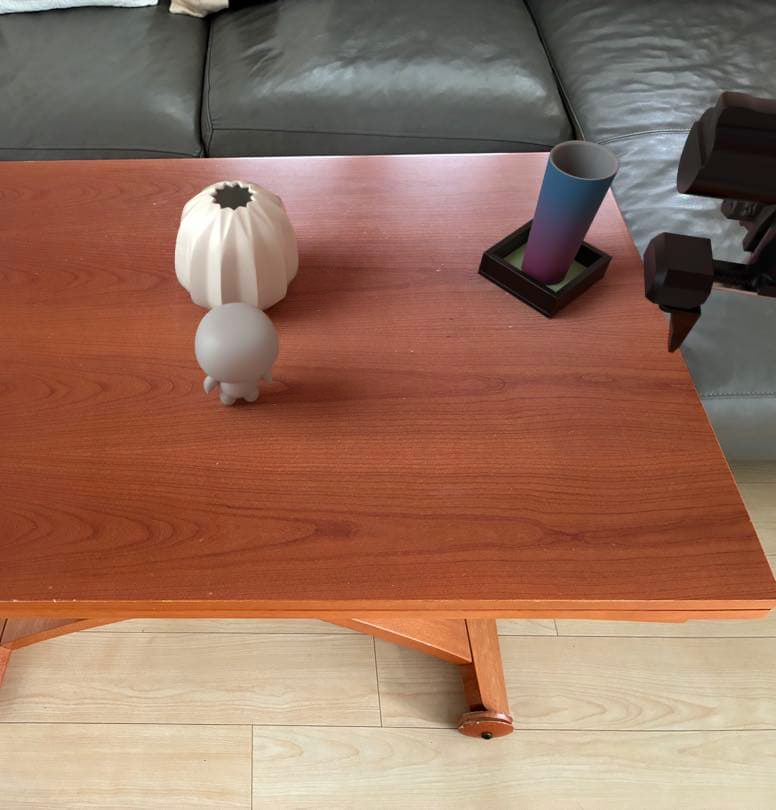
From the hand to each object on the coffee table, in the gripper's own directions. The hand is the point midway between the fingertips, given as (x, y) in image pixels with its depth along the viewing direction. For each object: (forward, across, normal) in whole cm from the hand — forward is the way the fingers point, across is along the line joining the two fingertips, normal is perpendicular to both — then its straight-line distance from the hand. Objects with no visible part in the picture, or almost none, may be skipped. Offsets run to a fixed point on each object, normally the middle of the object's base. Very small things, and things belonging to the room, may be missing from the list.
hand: (728, 358), depth 65 cm
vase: (+13, +47, -11) cm, 50 cm away
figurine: (+13, +42, +5) cm, 44 cm away
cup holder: (+13, +13, -22) cm, 29 cm away
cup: (+12, +13, -22) cm, 28 cm away
